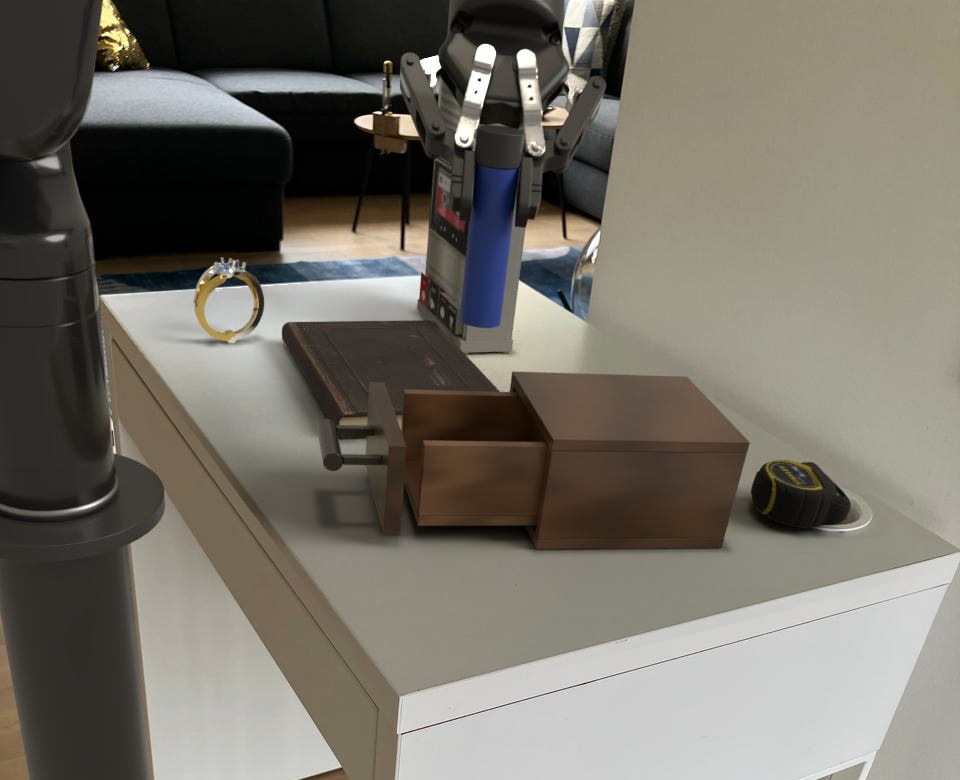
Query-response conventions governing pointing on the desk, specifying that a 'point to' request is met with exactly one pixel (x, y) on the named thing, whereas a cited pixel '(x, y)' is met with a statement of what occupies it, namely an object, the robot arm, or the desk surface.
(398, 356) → the hardcover book
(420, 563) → the desk surface
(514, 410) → the drawer
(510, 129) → the marker
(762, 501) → the tape measure
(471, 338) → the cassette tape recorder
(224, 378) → the desk surface
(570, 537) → the cabinet
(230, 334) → the ring
